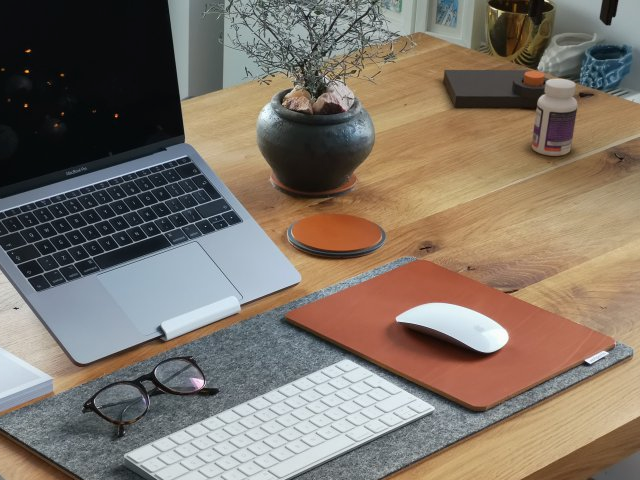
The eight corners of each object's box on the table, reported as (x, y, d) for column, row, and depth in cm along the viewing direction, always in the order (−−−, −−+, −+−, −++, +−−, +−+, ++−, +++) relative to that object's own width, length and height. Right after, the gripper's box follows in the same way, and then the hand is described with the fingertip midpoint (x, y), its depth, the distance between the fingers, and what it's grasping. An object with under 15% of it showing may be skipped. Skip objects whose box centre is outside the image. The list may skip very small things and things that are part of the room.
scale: (535, 81, 181) (538, 60, 179) (553, 110, 169) (557, 88, 168) (443, 80, 181) (445, 60, 179) (455, 109, 170) (458, 88, 168)
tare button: (540, 80, 172) (542, 71, 171) (545, 87, 169) (546, 77, 168) (521, 80, 172) (522, 70, 171) (525, 87, 169) (526, 77, 168)
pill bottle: (577, 149, 157) (588, 82, 152) (558, 160, 153) (568, 92, 148) (543, 138, 160) (553, 73, 155) (523, 149, 156) (532, 83, 151)
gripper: (528, -109, 135) (510, 31, 144) (671, -109, 135) (644, 31, 144) (515, -121, 142) (499, 14, 151) (652, -120, 142) (627, 14, 150)
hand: (570, 22), depth 147 cm, fingers open, 8 cm apart
